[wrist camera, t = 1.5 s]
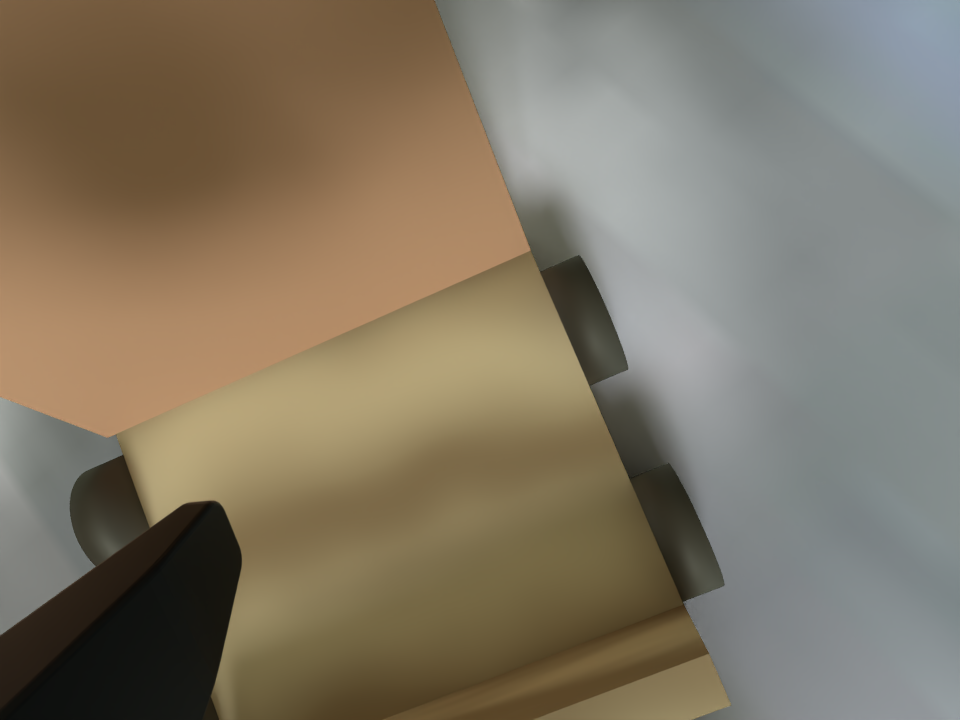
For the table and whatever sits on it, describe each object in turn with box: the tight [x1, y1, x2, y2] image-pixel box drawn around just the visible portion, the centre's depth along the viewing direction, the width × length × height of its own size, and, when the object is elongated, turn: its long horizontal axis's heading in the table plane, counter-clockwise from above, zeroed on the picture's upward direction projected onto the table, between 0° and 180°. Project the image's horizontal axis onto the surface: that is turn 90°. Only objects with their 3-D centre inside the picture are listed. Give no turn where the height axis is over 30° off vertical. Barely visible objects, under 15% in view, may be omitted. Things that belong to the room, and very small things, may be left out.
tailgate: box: [0, 0, 531, 438], centre depth 16 cm, size 1×14×14 cm, turn 113°
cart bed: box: [70, 251, 731, 720], centre depth 21 cm, size 13×16×6 cm
